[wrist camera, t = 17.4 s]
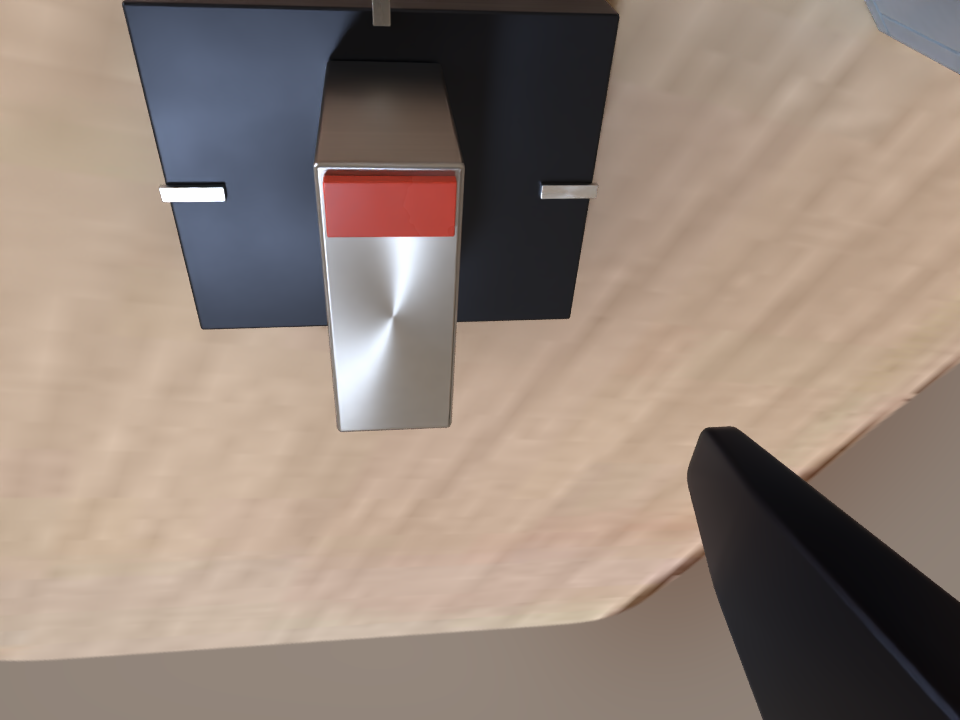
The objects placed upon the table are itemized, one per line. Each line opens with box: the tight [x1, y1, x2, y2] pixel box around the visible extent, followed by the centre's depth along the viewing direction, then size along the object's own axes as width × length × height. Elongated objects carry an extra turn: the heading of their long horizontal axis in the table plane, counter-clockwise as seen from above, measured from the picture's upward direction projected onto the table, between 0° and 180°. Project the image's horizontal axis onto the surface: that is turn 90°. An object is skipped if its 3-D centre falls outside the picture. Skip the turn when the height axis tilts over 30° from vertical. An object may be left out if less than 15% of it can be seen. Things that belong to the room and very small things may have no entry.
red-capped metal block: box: [313, 61, 465, 432], centre depth 15 cm, size 6×2×5 cm, turn 177°
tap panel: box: [122, 0, 619, 329], centre depth 18 cm, size 10×10×3 cm
